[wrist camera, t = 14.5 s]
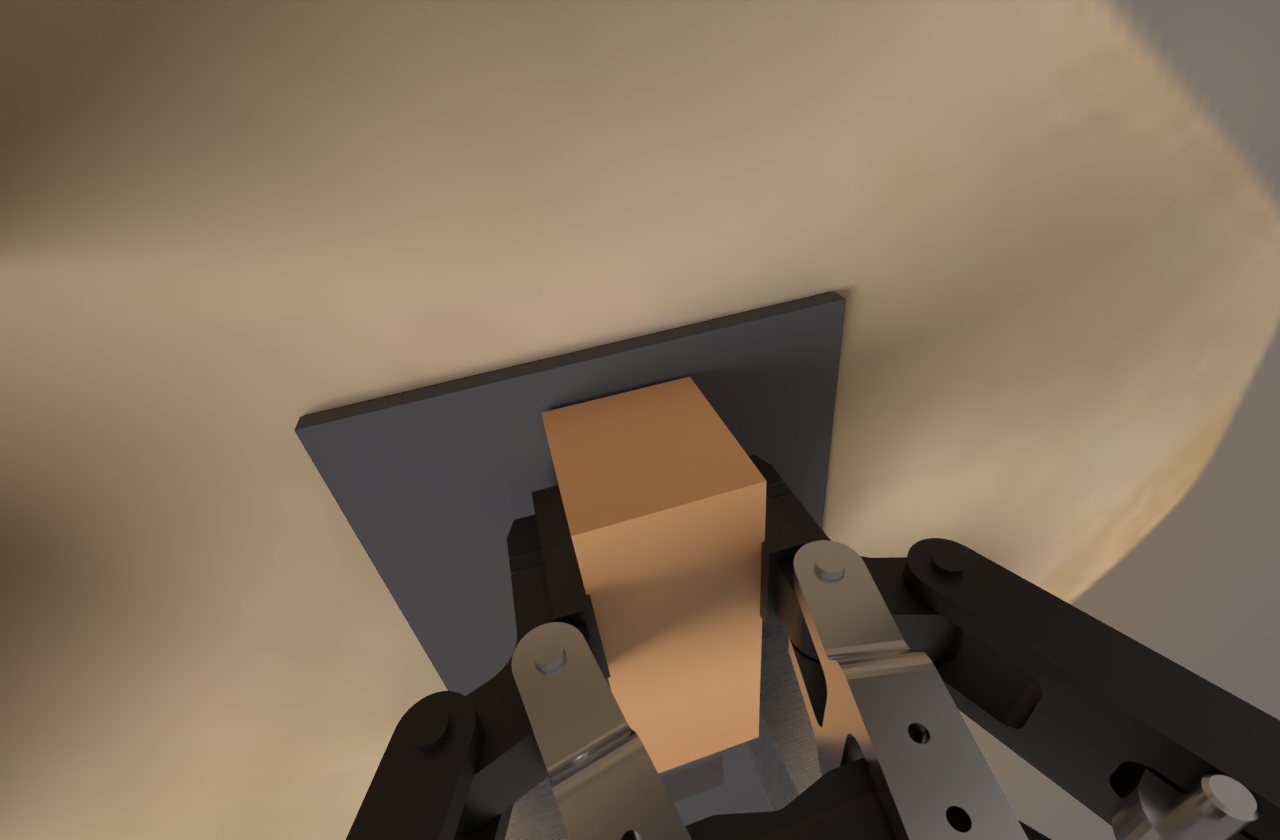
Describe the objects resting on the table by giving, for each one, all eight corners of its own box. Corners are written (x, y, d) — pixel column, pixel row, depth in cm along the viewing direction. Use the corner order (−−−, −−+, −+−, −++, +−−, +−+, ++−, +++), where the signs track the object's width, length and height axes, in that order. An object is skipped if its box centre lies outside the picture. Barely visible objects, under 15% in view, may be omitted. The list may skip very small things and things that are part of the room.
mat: (786, 808, 30) (790, 818, 30) (573, 893, 28) (575, 905, 28) (833, 291, 13) (845, 299, 13) (300, 417, 11) (294, 430, 11)
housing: (844, 676, 23) (949, 844, 18) (462, 814, 20) (465, 1052, 15) (857, 600, 20) (987, 775, 15) (414, 750, 17) (400, 1018, 13)
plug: (710, 693, 20) (756, 807, 17) (621, 724, 20) (651, 847, 17) (689, 376, 12) (766, 481, 9) (541, 413, 12) (571, 536, 9)
